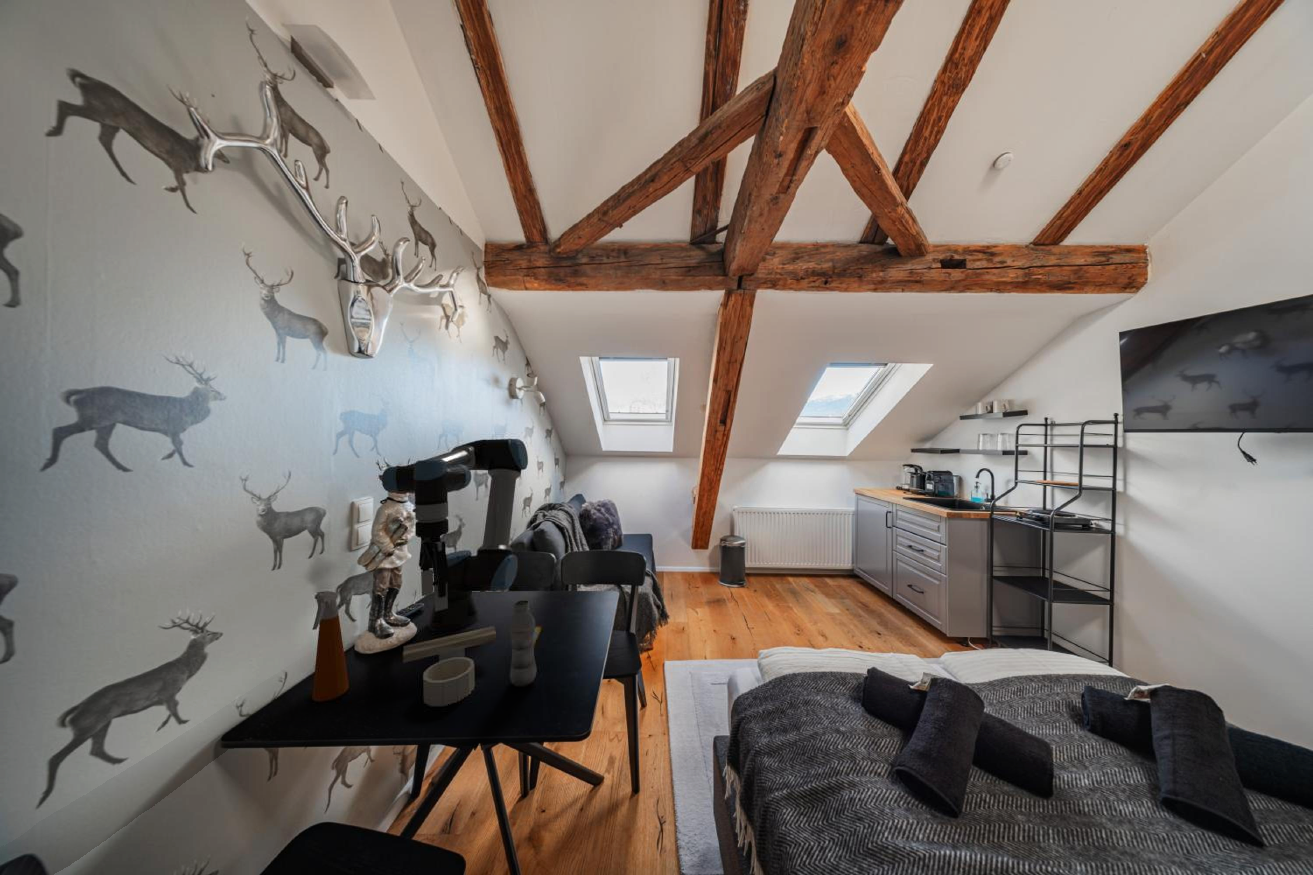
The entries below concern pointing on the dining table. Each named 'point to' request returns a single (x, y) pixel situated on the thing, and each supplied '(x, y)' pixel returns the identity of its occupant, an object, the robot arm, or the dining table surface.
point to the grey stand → (452, 654)
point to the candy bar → (536, 633)
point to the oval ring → (448, 681)
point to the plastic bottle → (522, 645)
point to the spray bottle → (329, 650)
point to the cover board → (448, 644)
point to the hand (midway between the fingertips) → (434, 601)
